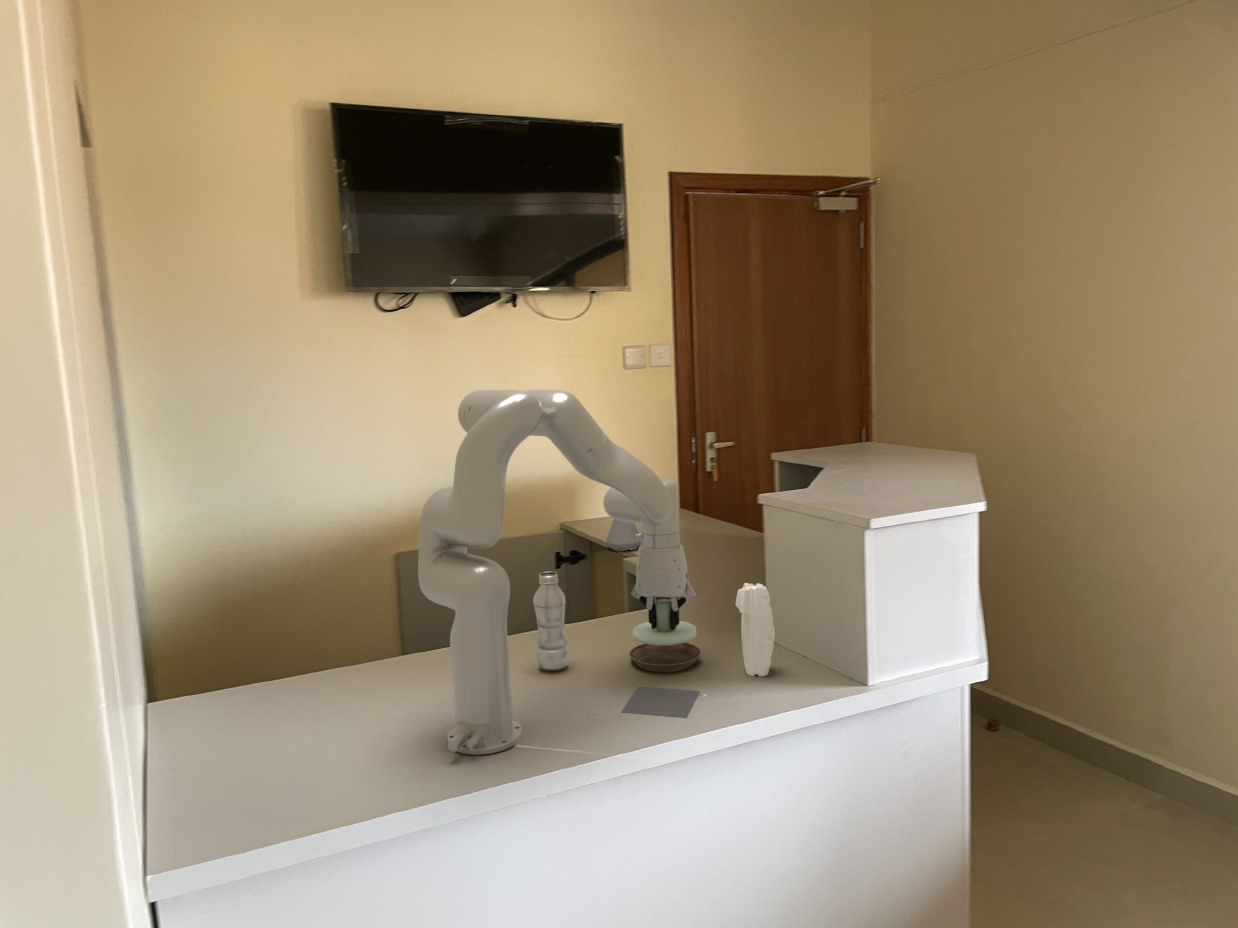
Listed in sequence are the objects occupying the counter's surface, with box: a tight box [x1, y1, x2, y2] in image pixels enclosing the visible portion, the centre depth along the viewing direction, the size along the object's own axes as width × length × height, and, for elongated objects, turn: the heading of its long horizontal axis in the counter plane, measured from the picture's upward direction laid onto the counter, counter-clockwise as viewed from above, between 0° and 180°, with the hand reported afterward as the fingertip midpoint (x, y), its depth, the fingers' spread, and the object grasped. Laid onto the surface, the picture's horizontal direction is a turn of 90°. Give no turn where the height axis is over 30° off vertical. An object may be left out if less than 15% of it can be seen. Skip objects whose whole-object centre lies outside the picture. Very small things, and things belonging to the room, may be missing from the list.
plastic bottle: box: [532, 571, 570, 671], centre depth 179 cm, size 6×7×20 cm
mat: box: [620, 686, 701, 719], centre depth 161 cm, size 12×12×1 cm
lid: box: [632, 598, 697, 645], centre depth 180 cm, size 13×13×7 cm
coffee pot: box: [606, 519, 642, 553], centre depth 286 cm, size 21×12×15 cm, turn 145°
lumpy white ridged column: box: [735, 582, 776, 677], centre depth 172 cm, size 7×18×7 cm
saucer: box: [628, 642, 702, 673], centre depth 181 cm, size 15×15×3 cm
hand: (664, 626), depth 180 cm, fingers closed on lid, 3 cm apart
